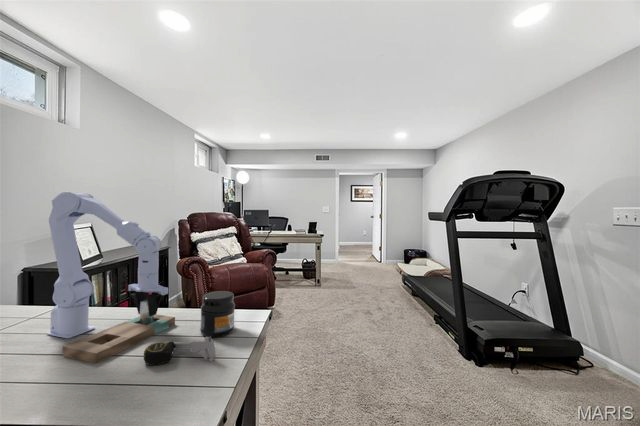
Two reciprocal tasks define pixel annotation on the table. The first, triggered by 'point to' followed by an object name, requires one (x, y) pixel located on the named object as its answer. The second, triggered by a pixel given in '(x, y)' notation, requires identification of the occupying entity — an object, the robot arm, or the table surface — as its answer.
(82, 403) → the table surface
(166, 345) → the tape measure
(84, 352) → the board
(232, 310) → the supplement container
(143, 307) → the metal pin
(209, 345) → the caliper
